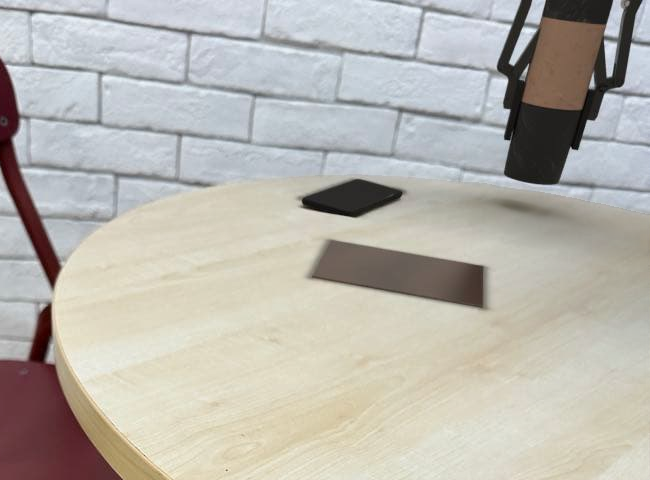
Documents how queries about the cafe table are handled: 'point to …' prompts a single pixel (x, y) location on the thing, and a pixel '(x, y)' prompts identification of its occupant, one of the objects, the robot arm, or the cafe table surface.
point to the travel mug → (555, 89)
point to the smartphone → (352, 198)
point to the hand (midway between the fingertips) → (540, 142)
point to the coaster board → (402, 273)
